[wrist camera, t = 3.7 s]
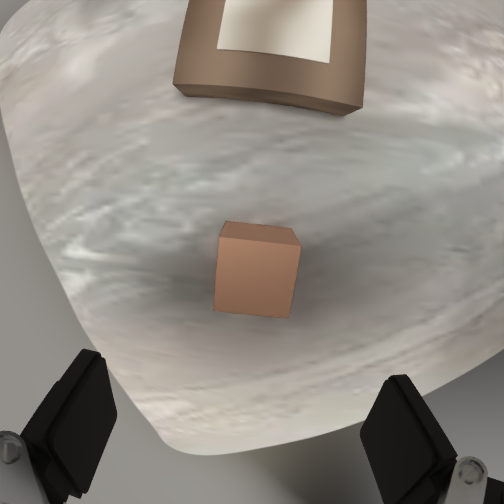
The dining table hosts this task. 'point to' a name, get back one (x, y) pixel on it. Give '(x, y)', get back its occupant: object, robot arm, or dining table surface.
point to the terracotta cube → (256, 269)
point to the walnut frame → (275, 52)
